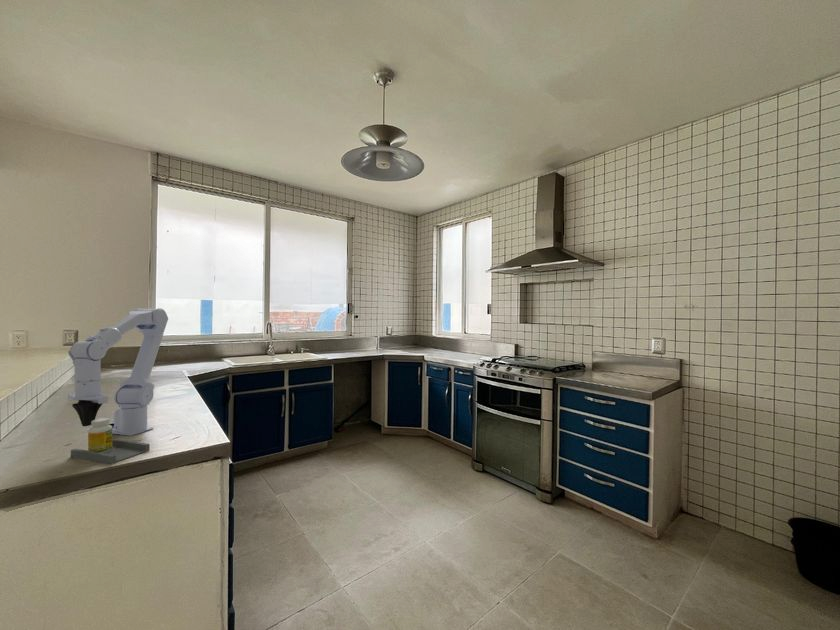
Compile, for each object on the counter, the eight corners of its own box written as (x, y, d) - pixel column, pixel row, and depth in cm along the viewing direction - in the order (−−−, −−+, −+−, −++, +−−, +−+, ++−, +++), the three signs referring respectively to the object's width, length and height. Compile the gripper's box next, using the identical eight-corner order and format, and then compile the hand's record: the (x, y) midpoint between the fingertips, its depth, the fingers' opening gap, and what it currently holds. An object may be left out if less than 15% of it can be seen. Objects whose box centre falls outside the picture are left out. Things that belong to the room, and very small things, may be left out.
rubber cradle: (70, 456, 100) (70, 449, 100) (110, 444, 110) (110, 438, 110) (111, 464, 95) (111, 456, 95) (149, 450, 105) (149, 443, 105)
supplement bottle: (92, 450, 105) (92, 418, 105) (115, 447, 108) (115, 416, 108) (84, 456, 100) (84, 423, 100) (108, 453, 103) (108, 421, 103)
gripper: (55, 381, 104) (55, 427, 104) (88, 384, 100) (88, 431, 100) (84, 377, 111) (84, 420, 111) (115, 380, 106) (115, 424, 106)
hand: (87, 425), depth 106 cm, fingers closed
